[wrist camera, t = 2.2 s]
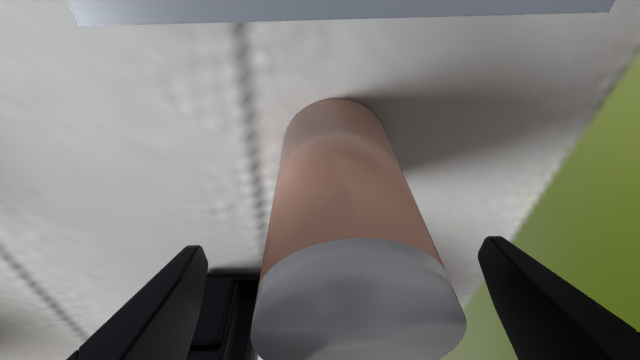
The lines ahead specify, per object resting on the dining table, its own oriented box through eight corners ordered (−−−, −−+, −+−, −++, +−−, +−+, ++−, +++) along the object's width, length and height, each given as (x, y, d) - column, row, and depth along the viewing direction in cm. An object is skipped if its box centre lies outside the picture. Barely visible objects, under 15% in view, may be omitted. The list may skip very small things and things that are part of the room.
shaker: (380, 186, 15) (438, 378, 8) (288, 189, 15) (266, 383, 8) (392, 96, 12) (500, 275, 5) (277, 99, 12) (229, 283, 5)
